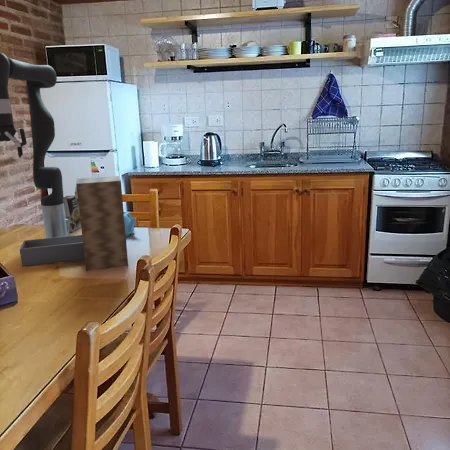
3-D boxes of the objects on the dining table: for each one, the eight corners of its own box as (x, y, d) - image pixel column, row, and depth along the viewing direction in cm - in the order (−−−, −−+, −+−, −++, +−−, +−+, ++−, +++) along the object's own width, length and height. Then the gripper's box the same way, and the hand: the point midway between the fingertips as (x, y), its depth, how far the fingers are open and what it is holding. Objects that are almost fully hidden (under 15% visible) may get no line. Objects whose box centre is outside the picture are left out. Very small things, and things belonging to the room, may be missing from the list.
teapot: (138, 236, 200) (136, 213, 197) (104, 241, 195) (102, 217, 192) (132, 228, 214) (131, 207, 211) (101, 232, 209) (99, 210, 206)
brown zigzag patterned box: (83, 271, 158) (73, 183, 150) (84, 260, 170) (74, 178, 161) (128, 265, 163) (120, 180, 155) (125, 255, 174) (118, 175, 166)
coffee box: (73, 231, 210) (69, 199, 206) (61, 231, 212) (57, 198, 208) (82, 226, 219) (79, 195, 215) (71, 226, 220) (67, 195, 216)
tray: (22, 267, 164) (19, 249, 163) (26, 257, 176) (23, 240, 174) (107, 257, 173) (105, 240, 171) (106, 248, 184) (104, 232, 182)
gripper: (23, 111, 162) (29, 155, 166) (-20, 113, 158) (-12, 158, 163) (20, 111, 155) (27, 157, 160) (-25, 113, 151) (-17, 160, 156)
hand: (7, 157), depth 161 cm, fingers open, 8 cm apart
